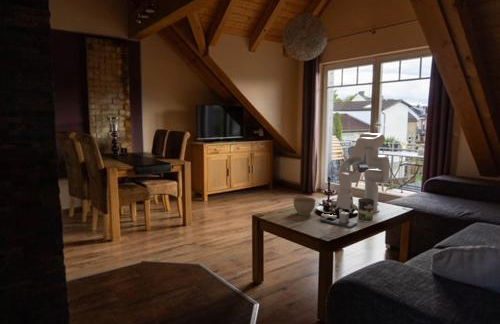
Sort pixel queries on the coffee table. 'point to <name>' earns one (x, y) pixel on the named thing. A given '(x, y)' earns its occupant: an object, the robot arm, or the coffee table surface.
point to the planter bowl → (304, 205)
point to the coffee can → (365, 210)
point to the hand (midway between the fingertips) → (343, 216)
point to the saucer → (328, 215)
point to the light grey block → (344, 217)
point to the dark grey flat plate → (336, 222)
